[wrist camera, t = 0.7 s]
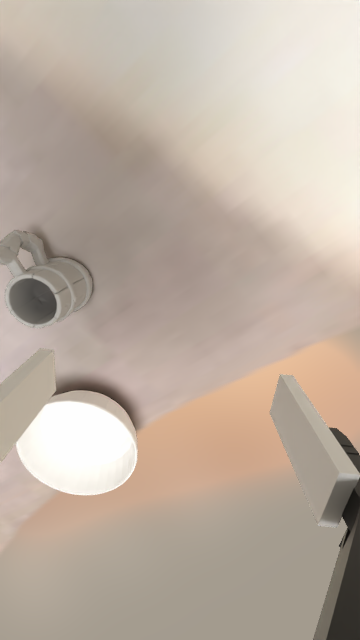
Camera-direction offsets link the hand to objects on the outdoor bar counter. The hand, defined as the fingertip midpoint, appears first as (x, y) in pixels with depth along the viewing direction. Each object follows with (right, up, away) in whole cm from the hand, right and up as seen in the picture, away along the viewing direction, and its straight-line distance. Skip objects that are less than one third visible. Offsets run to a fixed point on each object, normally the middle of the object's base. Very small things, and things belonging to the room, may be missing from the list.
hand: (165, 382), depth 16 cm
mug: (-16, +11, +23) cm, 30 cm away
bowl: (-14, -14, +32) cm, 38 cm away
